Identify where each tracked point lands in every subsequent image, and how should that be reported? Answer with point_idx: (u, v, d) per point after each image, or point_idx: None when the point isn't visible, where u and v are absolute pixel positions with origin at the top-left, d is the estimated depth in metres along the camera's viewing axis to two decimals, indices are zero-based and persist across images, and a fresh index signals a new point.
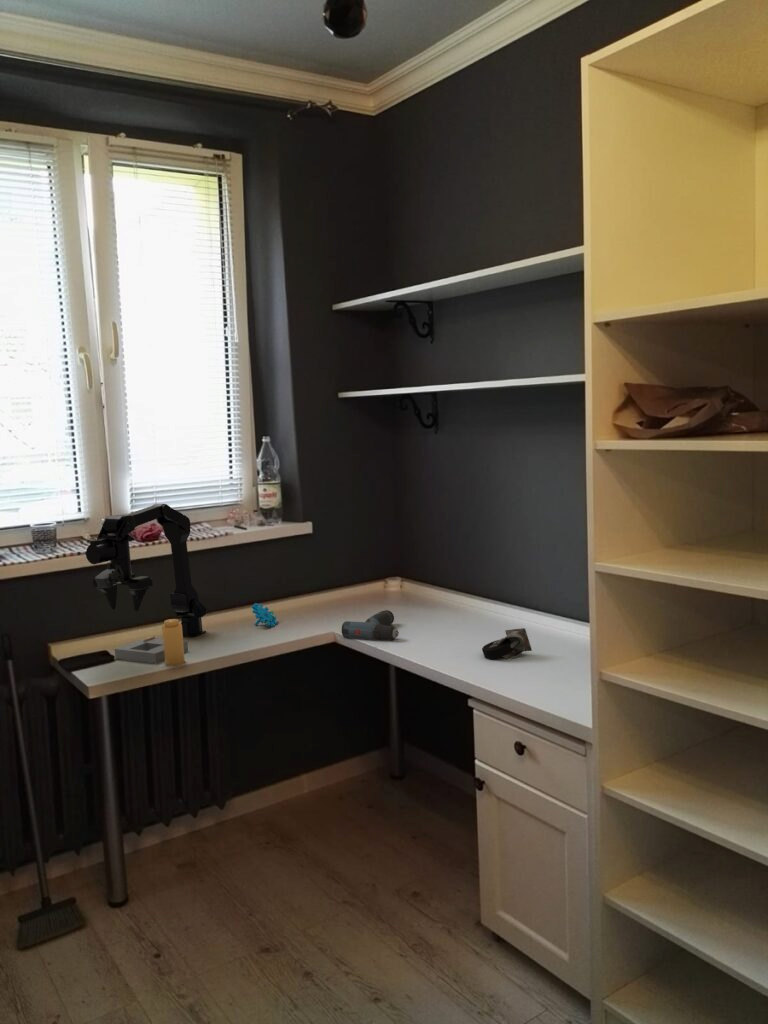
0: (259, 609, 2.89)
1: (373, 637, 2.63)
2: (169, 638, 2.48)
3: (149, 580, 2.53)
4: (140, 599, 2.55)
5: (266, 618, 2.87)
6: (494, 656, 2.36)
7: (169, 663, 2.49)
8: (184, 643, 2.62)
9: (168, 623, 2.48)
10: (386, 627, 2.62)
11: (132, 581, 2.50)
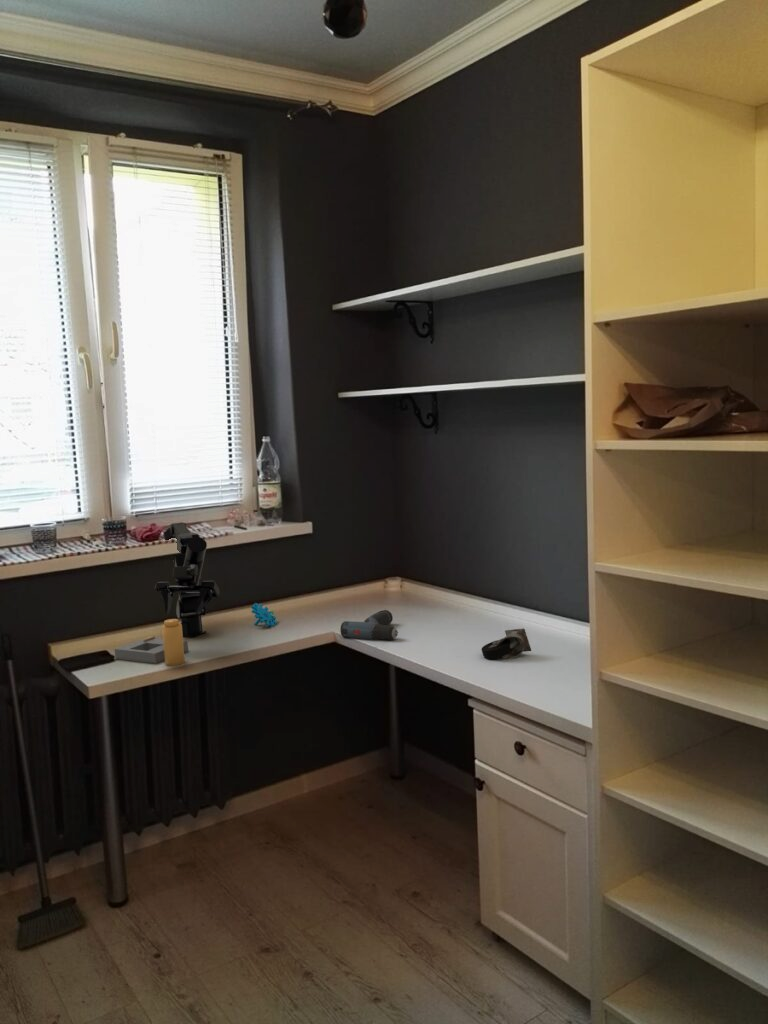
0: (259, 609, 2.89)
1: (372, 637, 2.64)
2: (169, 638, 2.48)
3: (218, 589, 2.63)
4: (203, 605, 2.60)
5: (266, 618, 2.87)
6: (493, 656, 2.36)
7: (169, 663, 2.49)
8: (184, 643, 2.62)
9: (168, 623, 2.48)
10: (385, 627, 2.62)
11: (206, 581, 2.60)
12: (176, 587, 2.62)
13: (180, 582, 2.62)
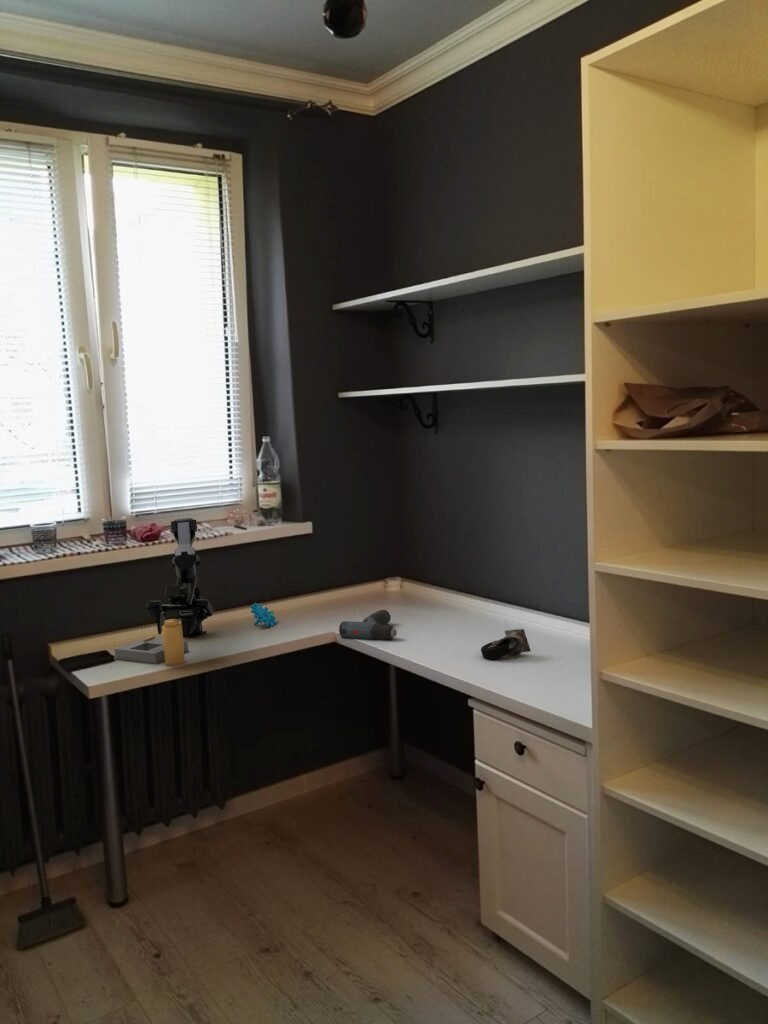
0: (258, 609, 2.89)
1: (371, 637, 2.64)
2: (169, 638, 2.48)
3: (212, 608, 2.57)
4: (196, 625, 2.53)
5: (265, 618, 2.88)
6: (492, 656, 2.36)
7: (169, 663, 2.49)
8: (184, 643, 2.62)
9: (168, 623, 2.48)
10: (384, 626, 2.63)
11: (200, 599, 2.54)
12: (169, 606, 2.56)
13: (173, 601, 2.56)
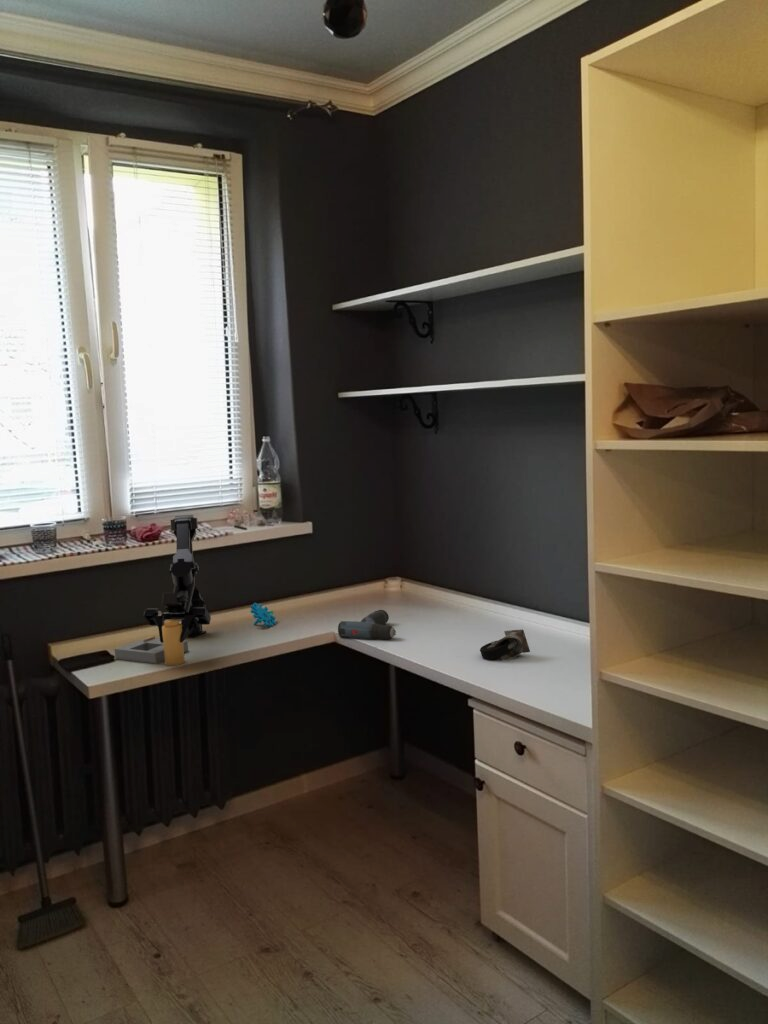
0: (258, 609, 2.89)
1: (370, 636, 2.64)
2: (169, 638, 2.48)
3: (209, 616, 2.54)
4: (188, 633, 2.51)
5: (264, 618, 2.88)
6: (491, 657, 2.36)
7: (169, 663, 2.49)
8: (184, 643, 2.62)
9: (168, 623, 2.48)
10: (383, 626, 2.63)
11: (197, 607, 2.52)
12: (171, 614, 2.54)
13: (170, 609, 2.53)
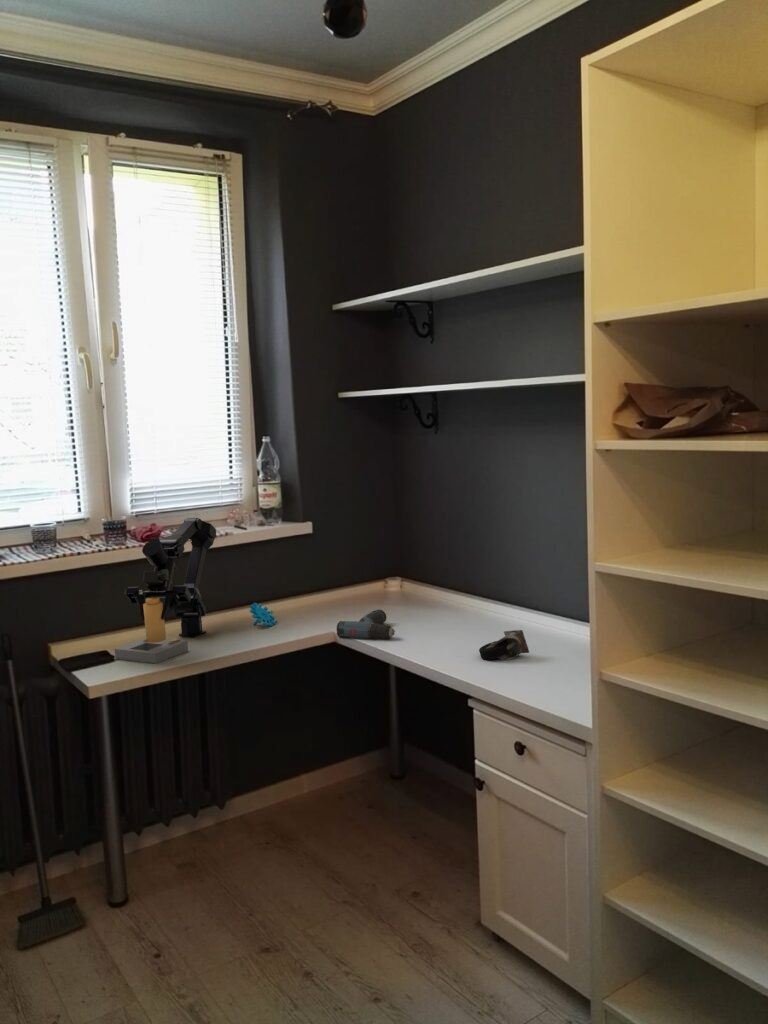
0: (257, 609, 2.89)
1: (369, 636, 2.65)
2: (151, 616, 2.53)
3: (190, 594, 2.60)
4: (169, 611, 2.56)
5: (264, 618, 2.88)
6: (489, 657, 2.35)
7: (151, 640, 2.54)
8: (184, 643, 2.62)
9: (149, 601, 2.53)
10: (382, 626, 2.64)
11: (177, 586, 2.57)
12: (152, 592, 2.59)
13: (151, 587, 2.58)
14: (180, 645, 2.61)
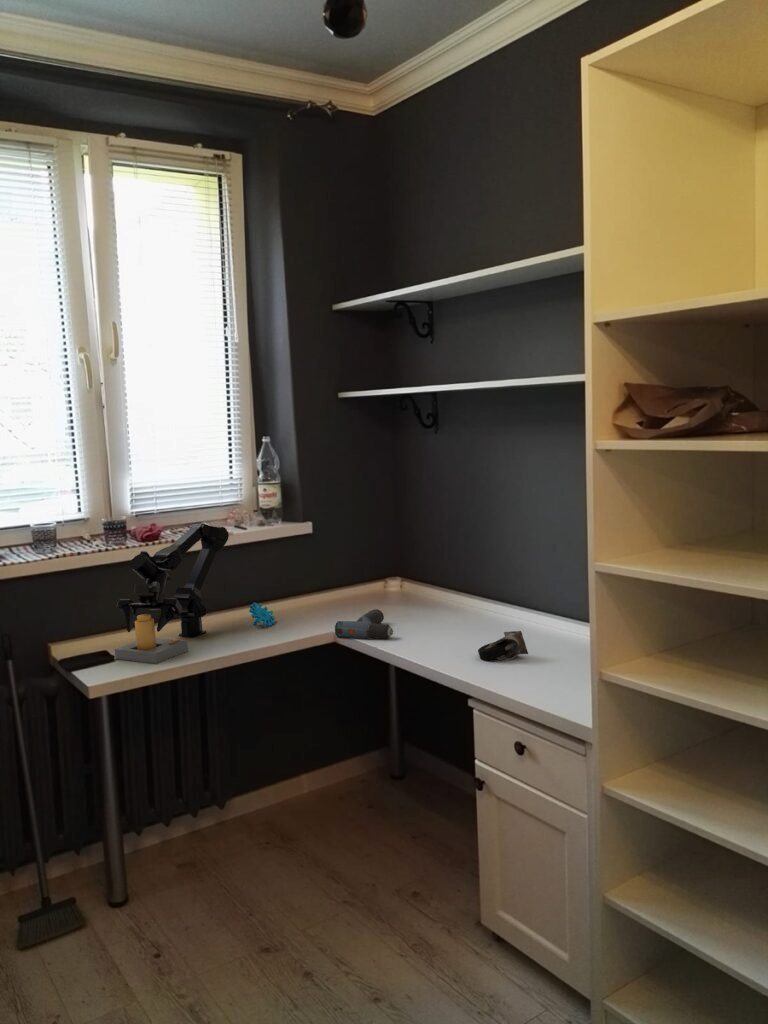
0: (257, 609, 2.90)
1: (367, 636, 2.65)
2: (142, 633, 2.56)
3: (180, 607, 2.63)
4: (165, 623, 2.59)
5: (263, 618, 2.88)
6: (487, 657, 2.35)
7: None
8: (184, 643, 2.62)
9: (140, 618, 2.56)
10: (381, 626, 2.64)
11: (168, 598, 2.60)
12: (138, 604, 2.62)
13: (142, 599, 2.62)
14: (180, 645, 2.61)
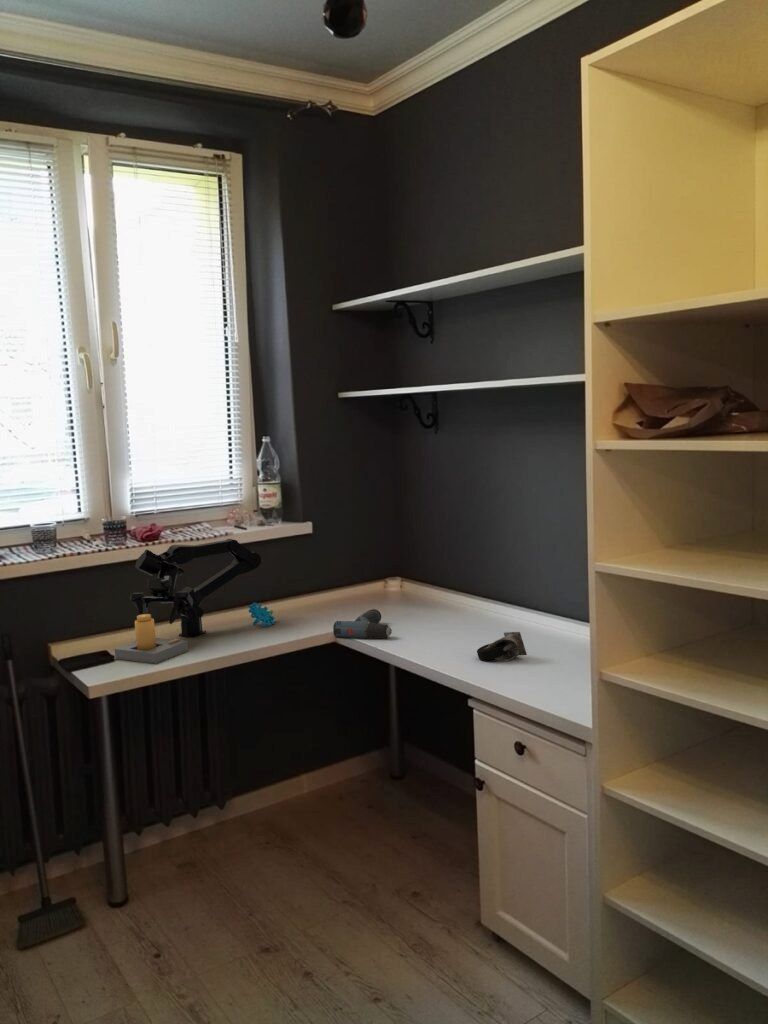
0: (256, 609, 2.90)
1: (366, 636, 2.66)
2: (142, 633, 2.56)
3: (192, 600, 2.72)
4: (176, 615, 2.68)
5: (262, 618, 2.88)
6: (485, 658, 2.35)
7: None
8: (184, 643, 2.62)
9: (140, 618, 2.56)
10: (379, 625, 2.65)
11: (180, 592, 2.69)
12: (151, 598, 2.71)
13: (155, 593, 2.70)
14: (180, 645, 2.61)
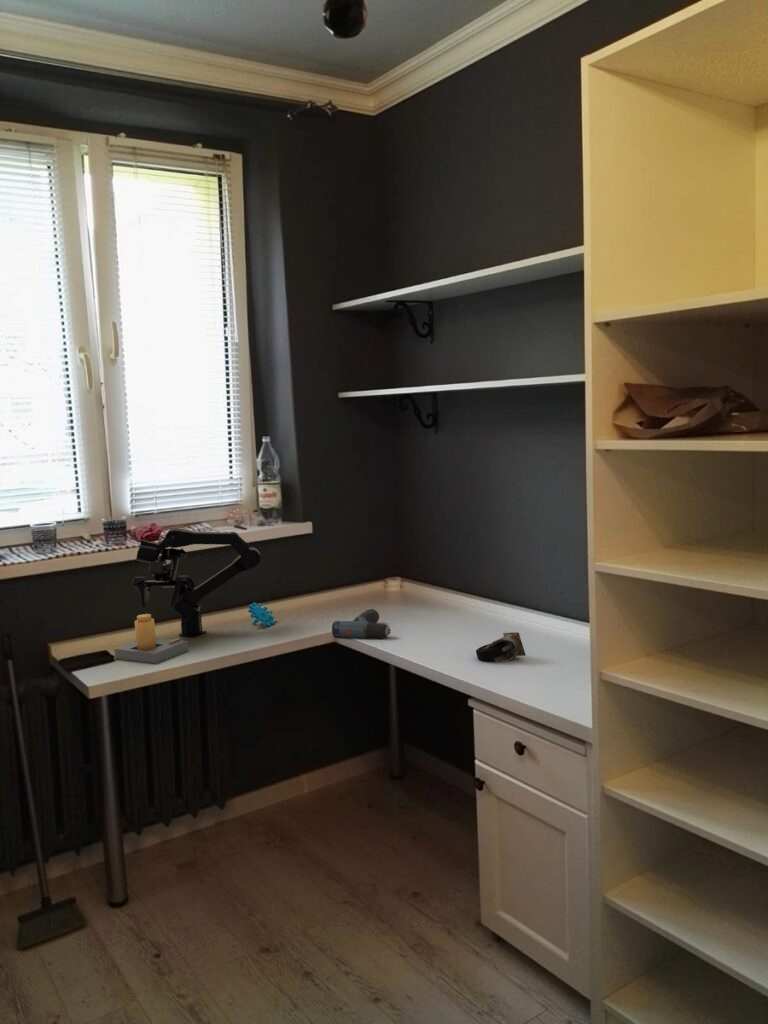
0: (256, 608, 2.90)
1: (365, 635, 2.66)
2: (142, 633, 2.56)
3: (193, 584, 2.74)
4: (178, 599, 2.70)
5: (262, 618, 2.88)
6: (484, 658, 2.35)
7: None
8: (184, 643, 2.62)
9: (140, 618, 2.56)
10: (378, 625, 2.65)
11: (181, 576, 2.71)
12: (153, 582, 2.73)
13: (156, 577, 2.72)
14: (180, 645, 2.61)
